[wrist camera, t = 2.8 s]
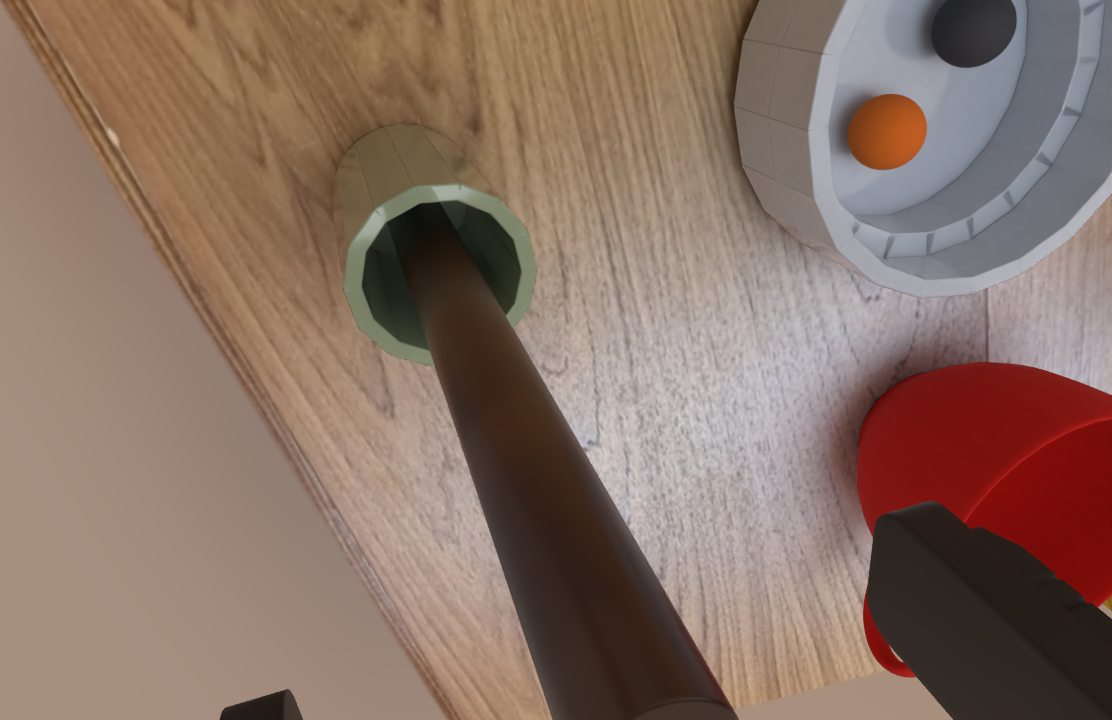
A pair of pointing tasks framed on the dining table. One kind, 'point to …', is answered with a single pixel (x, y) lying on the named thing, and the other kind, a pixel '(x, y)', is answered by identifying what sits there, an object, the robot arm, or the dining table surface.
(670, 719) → the stick
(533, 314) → the dining table surface
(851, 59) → the mixing bowl
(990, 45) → the ball grey
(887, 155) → the ball orange
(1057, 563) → the ceramic cup
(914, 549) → the robot arm
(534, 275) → the holder
